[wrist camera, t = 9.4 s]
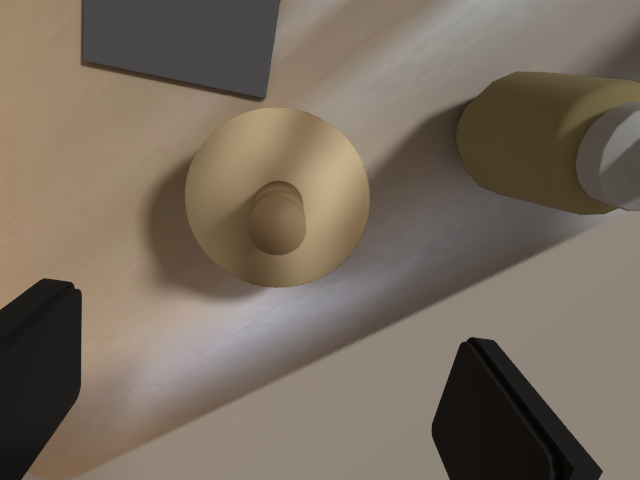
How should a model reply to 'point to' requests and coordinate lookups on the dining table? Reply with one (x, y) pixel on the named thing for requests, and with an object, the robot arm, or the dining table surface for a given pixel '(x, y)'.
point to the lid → (277, 197)
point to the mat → (185, 40)
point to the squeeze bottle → (556, 141)
